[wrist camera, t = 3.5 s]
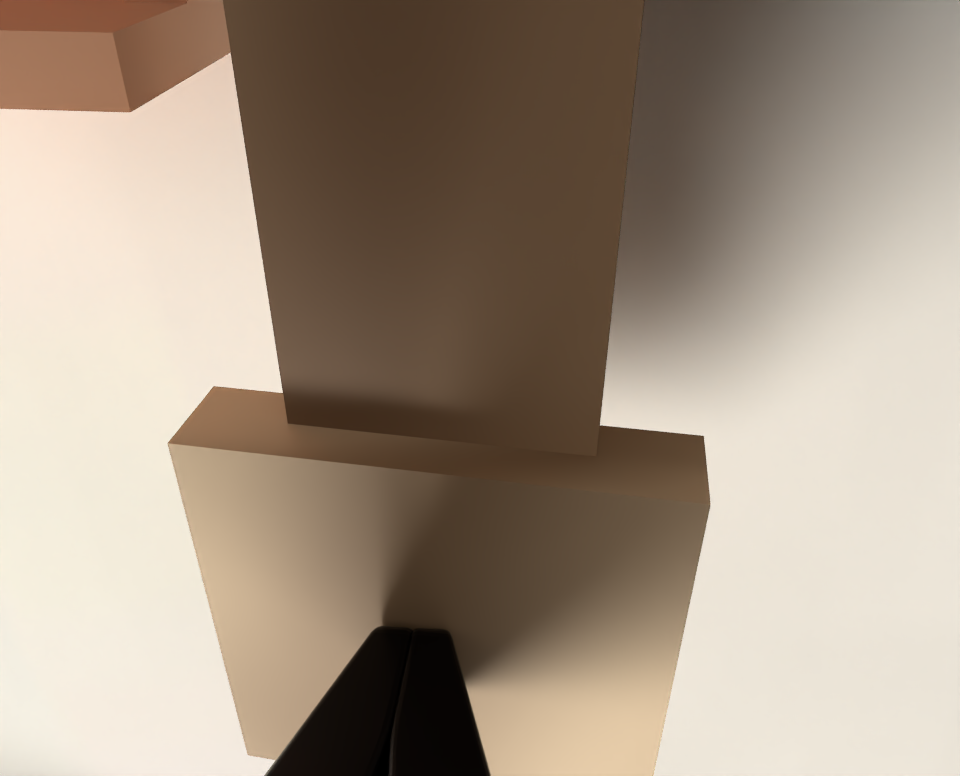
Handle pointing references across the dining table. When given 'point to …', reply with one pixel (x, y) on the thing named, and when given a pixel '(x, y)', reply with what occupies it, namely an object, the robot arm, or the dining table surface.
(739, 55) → the dining table surface
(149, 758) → the dining table surface
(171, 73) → the orange open box
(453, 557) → the lever
